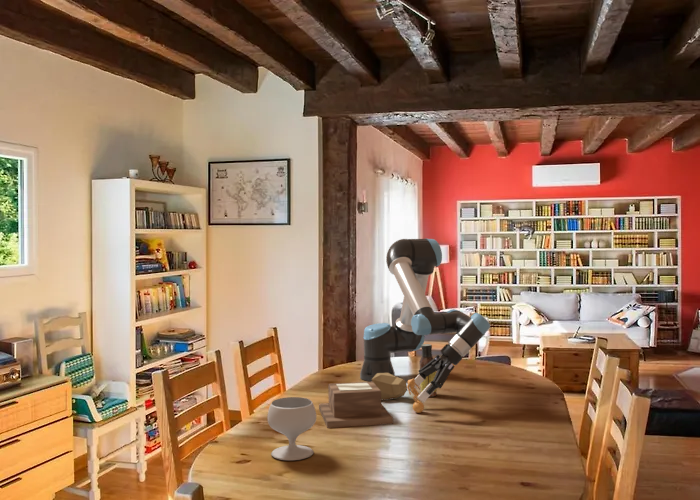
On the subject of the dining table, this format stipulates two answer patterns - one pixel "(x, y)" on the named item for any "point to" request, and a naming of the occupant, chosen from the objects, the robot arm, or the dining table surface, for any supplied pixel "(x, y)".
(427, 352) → the sauce bottle
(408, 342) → the robot arm
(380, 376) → the low-poly potato
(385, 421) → the pedestal
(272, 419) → the chalice
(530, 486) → the dining table surface
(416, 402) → the figurine
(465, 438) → the dining table surface
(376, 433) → the dining table surface
